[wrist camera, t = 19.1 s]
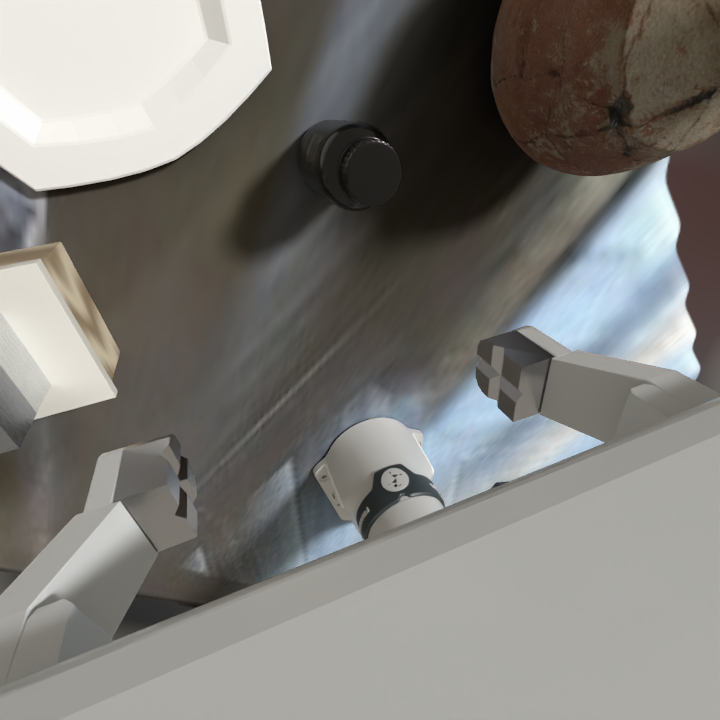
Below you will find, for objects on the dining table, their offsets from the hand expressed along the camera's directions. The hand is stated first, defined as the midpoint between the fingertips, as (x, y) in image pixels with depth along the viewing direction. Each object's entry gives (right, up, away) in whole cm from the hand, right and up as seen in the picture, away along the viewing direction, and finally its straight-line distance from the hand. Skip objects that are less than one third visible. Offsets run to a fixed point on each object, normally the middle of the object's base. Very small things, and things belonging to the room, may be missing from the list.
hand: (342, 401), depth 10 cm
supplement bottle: (-3, +21, +30) cm, 37 cm away
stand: (-32, +5, +27) cm, 42 cm away
